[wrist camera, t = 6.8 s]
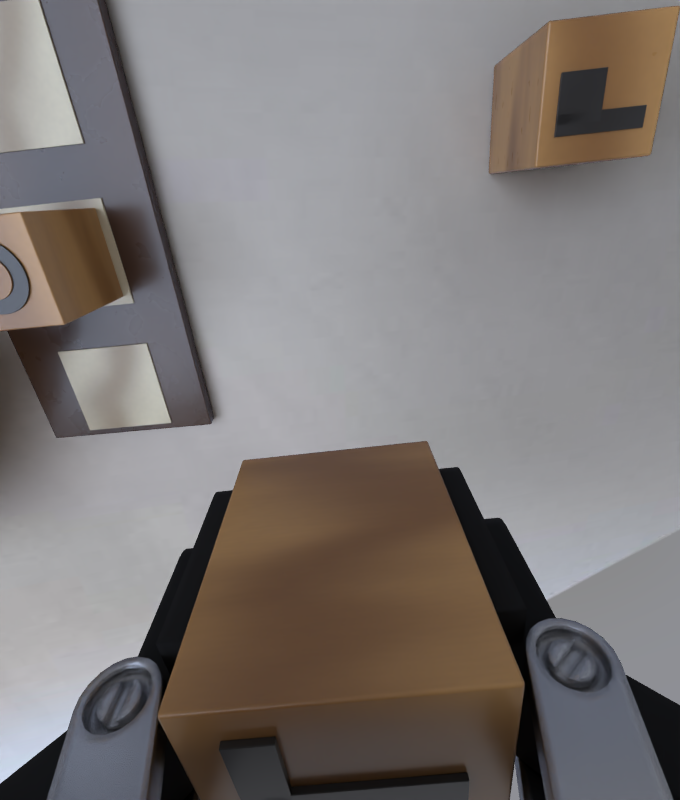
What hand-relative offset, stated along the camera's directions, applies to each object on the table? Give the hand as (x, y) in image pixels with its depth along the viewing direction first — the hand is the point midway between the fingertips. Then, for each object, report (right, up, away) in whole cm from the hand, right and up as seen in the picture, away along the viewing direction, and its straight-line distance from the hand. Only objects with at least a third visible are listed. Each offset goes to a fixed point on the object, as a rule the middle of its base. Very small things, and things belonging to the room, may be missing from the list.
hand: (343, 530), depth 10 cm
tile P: (+9, +17, +9) cm, 21 cm away
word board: (-14, +11, +12) cm, 22 cm away
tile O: (-14, +11, +11) cm, 21 cm away
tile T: (0, 0, 0) cm, 0 cm away
